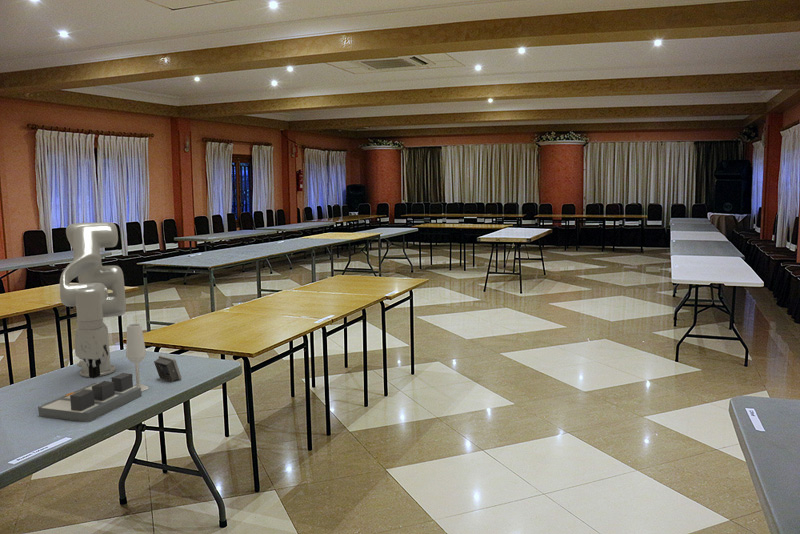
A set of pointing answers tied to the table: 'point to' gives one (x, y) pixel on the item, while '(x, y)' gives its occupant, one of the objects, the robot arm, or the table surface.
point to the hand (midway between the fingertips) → (94, 376)
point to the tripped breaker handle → (103, 390)
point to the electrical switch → (167, 368)
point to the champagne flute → (136, 349)
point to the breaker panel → (92, 411)
